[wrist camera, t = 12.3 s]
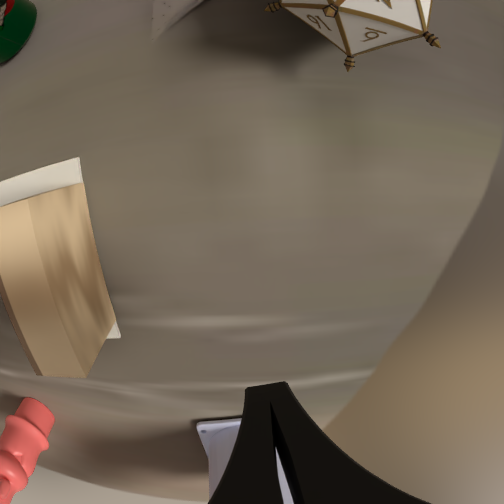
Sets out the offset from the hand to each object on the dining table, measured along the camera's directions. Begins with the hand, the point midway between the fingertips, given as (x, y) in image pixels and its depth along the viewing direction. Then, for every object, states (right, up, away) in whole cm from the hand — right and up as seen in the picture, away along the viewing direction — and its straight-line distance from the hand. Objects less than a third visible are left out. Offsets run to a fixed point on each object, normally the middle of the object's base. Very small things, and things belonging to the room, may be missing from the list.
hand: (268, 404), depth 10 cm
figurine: (-22, -10, +12) cm, 27 cm away
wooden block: (-12, +5, +7) cm, 15 cm away
